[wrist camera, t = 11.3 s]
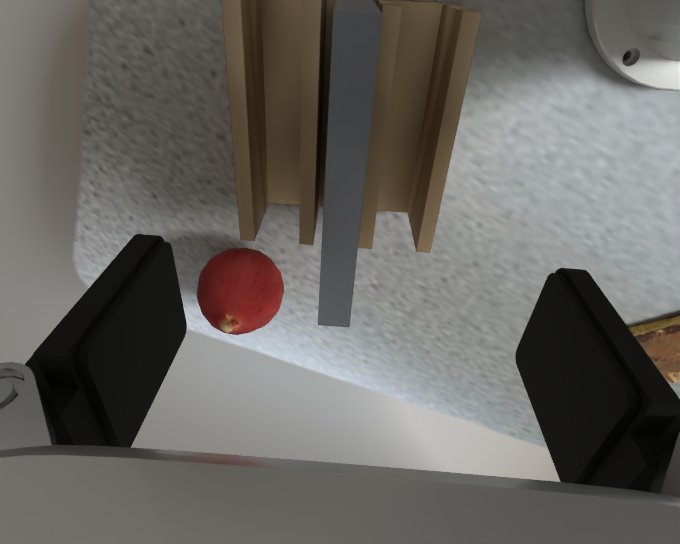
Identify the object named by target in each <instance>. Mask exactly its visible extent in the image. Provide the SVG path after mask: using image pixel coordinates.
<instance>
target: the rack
mask: <svg viewBox="0 0 680 544" xmlns="http://www.w3.org/2000/svg"><path fill="white" fill-rule="evenodd" d="M373 1H374V2H375V4H376V5H377V7H378V8H379V9H380V11H381V12H382V23H381V32H380V42H379V51H378V61H377V70H376V79H375V89H374V98H373V108H372V117H371V127H370V136H369V146H368V155H367V165H366V174H365V184H364V193H363V202H362V212H361V221H360V231H359V240H358V248H366V249H372V243H373V235H374V227H375V219H376V211H377V210H380V211H394V212H408V217H409V221H410V226H411V230H412V234H413V239H414V243H415V248H416V252H426V253H430V251H431V246H432V242H433V237H434V233H435V228H436V223H437V219H438V214H439V209H440V205H441V200H442V196H443V191H444V186H445V182H446V177H447V173H448V168H449V163H450V159H451V154H452V149H453V145H454V140H455V136H456V131H457V126H458V122H459V117H460V112H461V108H462V103H463V99H464V94H465V89H466V85H467V80H468V75H469V71H470V66H471V62H472V57H473V52H474V48H475V43H476V38H477V34H478V29H479V25H480V20H481V15H482V13H481V12H478V11H475V10H472V9H468V6H466V5H460V4H447V3H434V2H421V1H408V0H373ZM221 2H222V14H223V27H224V39H225V52H226V64H227V77H228V89H229V102H230V114H231V127H232V139H233V152H234V164H235V177H236V189H237V202H238V214H239V227H240V239H241V240H247V241H255V238H256V235H257V233H258V230H259V227H260V224H261V222H262V219H263V216H264V213H265V211H266V208H267V205H268V203H277V204H292V205H300V238H299V244H307V245H313V243H314V236H315V229H316V223H317V216H318V209H319V206H321V207H324V191H325V170H326V150H327V130H328V110H329V90H330V69H331V49H332V29H333V10H334V8H335V6H336V4H337V2H338V0H221Z"/></svg>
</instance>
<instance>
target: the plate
mask: <svg viewBox="0 0 680 544" xmlns="http://www.w3.org/2000/svg"><path fill="white" fill-rule="evenodd" d="M381 23H382V12H381V11H380V9H379V8H378V7H377V5H376V4H375V2H374V1H373V0H338V2H337V4H336V6H335V8H334V10H333V29H332V49H331V69H330V90H329V110H328V130H327V150H326V170H325V191H324V211H323V231H322V251H321V271H320V292H319V312H318V325H324V326H339V327H349V325H350V316H351V306H352V297H353V288H354V278H355V269H356V259H357V250H358V240H359V231H360V221H361V212H362V202H363V193H364V184H365V174H366V165H367V155H368V146H369V136H370V127H371V117H372V108H373V98H374V89H375V79H376V70H377V61H378V51H379V42H380V32H381Z"/></svg>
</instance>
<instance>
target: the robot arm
mask: <svg viewBox="0 0 680 544" xmlns="http://www.w3.org/2000/svg"><path fill="white" fill-rule="evenodd" d="M585 11H586V18H587V24H588V30H589V32H590V35H591V38H592V40H593V43H594V45H595V48H596V50H597V51H598V52H599V54H600V55H601V57H602V58H603V59H604V61H605V62H606V64H607V65H608V66H610V67H611V68H612V69H613V70H614V71H616V72H617V73H618V74H619V75H620V76H622V77H624V78H626V79H628V80H631V81H633V82H635V83H637V84H640V85H643V86H646V87H650V88H653V89H657V90H670V91H680V0H585ZM626 52H627V55H626V56H625V58H623V56H624V54H625V53H626ZM186 327H187V325H186V318H185V313H184V308H183V303H182V298H181V293H180V288H179V283H178V277H177V272H176V267H175V262H174V257H173V252H172V247H171V245H170V243H168V242H164V239H163V238H162V237H161V236H155V235H143V234H136V235H135V236H134V237H133V238H132V239H131V240H130V241H129V242H128V243H127V245H126V246H125V247H124V248H123V249H122V251H121V252H120V253H119V254H118V255H117V256H116V258H115V259H114V260H113V261H112V262H111V263H110V265H109V266H108V267H107V268H106V269H105V270H104V272H103V273H102V274H101V275H100V276H99V277H98V279H97V280H96V281H95V282H94V283H93V284H92V286H91V287H90V288H89V289H88V290H87V292H86V293H85V294H84V295H83V296H82V297H81V298H80V300H79V301H78V302H77V303H76V304H75V305H74V307H73V308H72V309H71V310H70V311H69V312H68V314H67V315H66V316H65V317H64V318H63V319H62V321H61V322H60V323H59V324H58V325H57V326H56V328H55V329H54V330H53V331H52V332H51V333H50V335H49V336H48V337H47V338H46V339H45V340H44V342H43V343H42V344H41V345H40V346H39V347H38V349H37V350H36V351H35V352H34V354H33V355H32V357H31V358H30V359H29V360H28V361H27V363H26V364H25V365H23V364H19V363H14V362H7V363H0V544H680V399H679V398H678V396H677V395H676V393H675V392H674V391H673V389H672V388H671V386H670V385H669V384H668V382H667V381H666V380H665V378H664V377H663V375H662V374H661V373H660V371H659V370H658V368H657V367H656V366H655V364H654V363H653V361H652V360H651V359H650V357H649V356H648V355H647V353H646V352H645V350H644V349H643V348H642V346H641V345H640V343H639V342H638V341H637V339H636V338H635V337H634V335H633V334H632V332H631V331H630V330H629V328H628V327H627V325H626V324H625V323H624V321H623V320H622V318H621V317H620V316H619V314H618V313H617V312H616V310H615V309H614V307H613V306H612V305H611V303H610V302H609V300H608V299H607V298H606V296H605V295H604V294H603V292H602V291H601V289H600V288H599V287H598V285H597V284H596V282H595V281H594V280H593V278H592V277H591V275H590V274H589V273H588V272H587V271H586V270H580V269H568V268H560V269H558V270H557V271H556V272H555V273H551V274H550V275H549V276H548V277H547V280H546V282H545V284H544V287H543V289H542V291H541V294H540V296H539V298H538V301H537V303H536V305H535V308H534V310H533V312H532V315H531V317H530V319H529V322H528V324H527V326H526V329H525V331H524V334H523V336H522V338H521V341H520V343H519V345H518V348H517V350H516V364H517V367H518V370H519V372H520V375H521V378H522V380H523V383H524V386H525V388H526V391H527V394H528V396H529V399H530V402H531V404H532V407H533V410H534V412H535V415H536V418H537V420H538V423H539V426H540V428H541V431H542V434H543V436H544V439H545V442H546V444H547V447H548V450H549V452H550V455H551V457H552V460H553V463H554V465H555V468H556V471H557V473H558V476H559V479H560V481H561V482H553V481H541V480H531V479H519V478H508V477H507V478H506V477H496V476H484V475H473V474H461V473H450V472H439V471H426V470H415V469H403V468H391V467H379V466H367V465H354V464H341V463H330V462H318V461H305V460H293V459H280V458H267V457H254V456H241V455H227V454H214V453H202V452H201V453H200V452H189V451H175V450H160V449H143V448H130V447H131V446H132V444H133V441H134V439H135V437H136V435H137V433H138V431H139V429H140V427H141V425H142V423H143V421H144V419H145V417H146V415H147V412H148V410H149V409H150V407H151V405H152V403H153V401H154V399H155V396H156V394H157V392H158V390H159V388H160V386H161V384H162V382H163V380H164V378H165V376H166V374H167V372H168V370H169V367H170V366H171V364H172V362H173V360H174V358H175V356H176V353H177V351H178V349H179V347H180V345H181V343H182V341H183V339H184V337H185V334H186Z"/></svg>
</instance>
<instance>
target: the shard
mask: <svg viewBox="0 0 680 544" xmlns="http://www.w3.org/2000/svg"><path fill="white" fill-rule="evenodd" d="M629 330H630V331H631V332H632V334H633V335H634V337H635V338H636V339H637V341H638V342H639V343H640V345H641V346H642V348H643V349H644V350H645V352H646V353H647V355H648V356H649V357H650V359H651V360H652V361H653V363H654V364H655V366H656V367H657V368H658V370H659V371H660V373H661V374H662V375H663V377H664V378H665V380H666V381H669V382H671V383H675V382H679V381H680V315H679V316H677V317H674V318H669V319H664V320H659V321H655V322H653V323H646V324H641V325H638V326H633V327H629Z"/></svg>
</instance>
